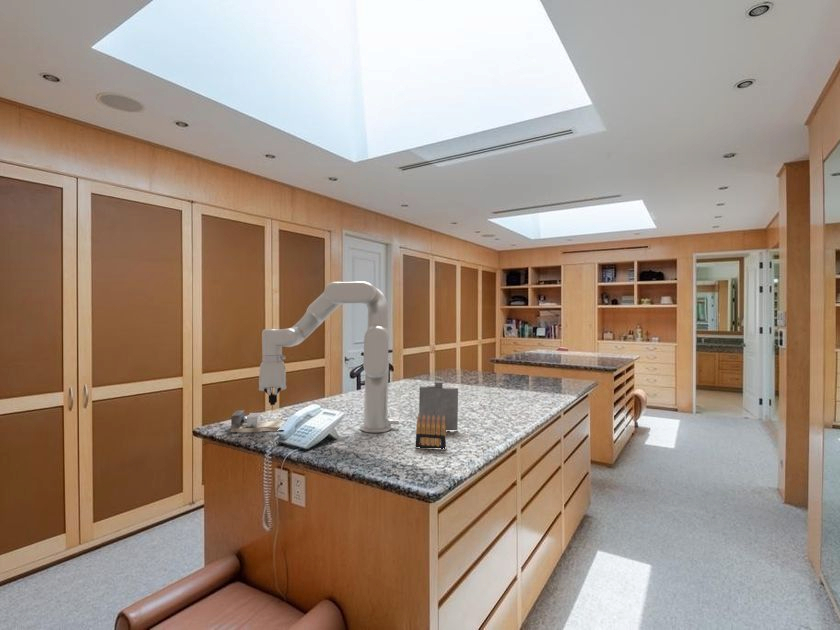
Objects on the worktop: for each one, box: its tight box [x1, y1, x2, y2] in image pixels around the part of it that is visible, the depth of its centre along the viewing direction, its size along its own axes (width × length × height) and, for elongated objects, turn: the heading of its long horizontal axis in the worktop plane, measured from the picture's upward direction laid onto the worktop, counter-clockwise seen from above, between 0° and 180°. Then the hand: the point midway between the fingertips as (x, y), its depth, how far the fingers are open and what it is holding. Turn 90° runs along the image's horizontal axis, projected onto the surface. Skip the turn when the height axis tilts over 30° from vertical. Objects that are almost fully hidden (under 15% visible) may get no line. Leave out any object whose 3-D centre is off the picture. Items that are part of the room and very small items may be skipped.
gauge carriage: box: [241, 412, 262, 428], centre depth 172 cm, size 6×9×4 cm
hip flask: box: [418, 381, 459, 431], centre depth 177 cm, size 16×4×20 cm, turn 80°
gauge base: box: [230, 410, 286, 433], centre depth 174 cm, size 20×10×6 cm, turn 101°
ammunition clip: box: [414, 413, 447, 449], centre depth 153 cm, size 11×2×12 cm, turn 81°
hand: (272, 404), depth 175 cm, fingers closed
